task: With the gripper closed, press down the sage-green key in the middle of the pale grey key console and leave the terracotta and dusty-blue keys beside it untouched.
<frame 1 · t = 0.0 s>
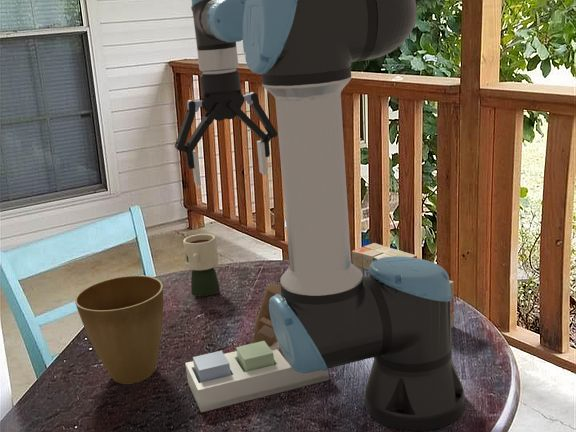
hand: (231, 178, 147), 28 cm above the table, tool pointing down, fingers open, 13 cm apart
plant pot: (132, 375, 131), on the table
stack of blocks: (402, 317, 145), on the table
character mug: (206, 294, 164), on the table
terracotta key: (297, 349, 126), point 4 cm above the table, slide at 0.0 cm
sage key: (255, 359, 124), point 4 cm above the table, slide at 0.0 cm
key console: (257, 381, 125), on the table
blue key: (212, 369, 122), point 4 cm above the table, slide at 0.0 cm
wooden block set: (274, 344, 139), on the table
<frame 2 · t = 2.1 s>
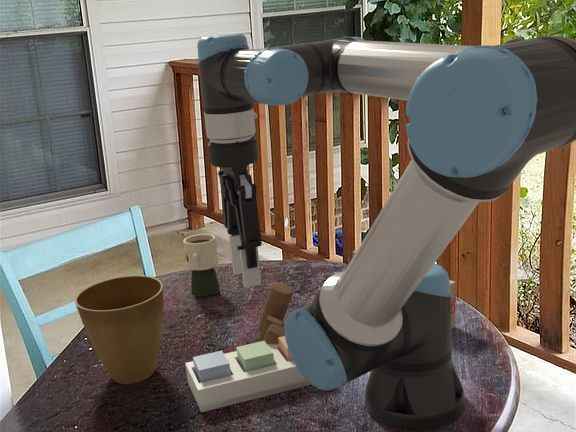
hand: (246, 278, 119), 19 cm above the table, tool pointing down, fingers open, 6 cm apart
wooden block set: (279, 342, 139), on the table
everything else where it was.
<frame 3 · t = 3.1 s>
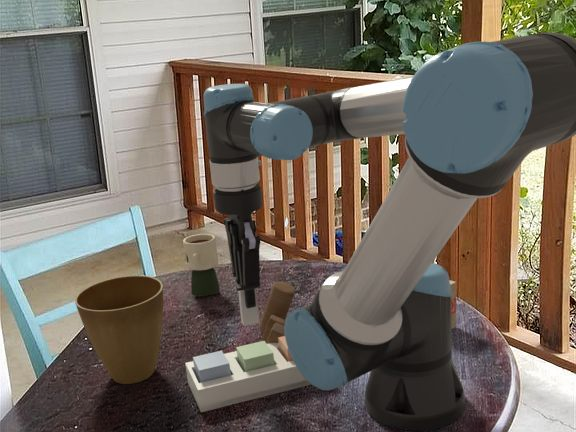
hand: (250, 322, 122), 11 cm above the table, tool pointing down, fingers closed
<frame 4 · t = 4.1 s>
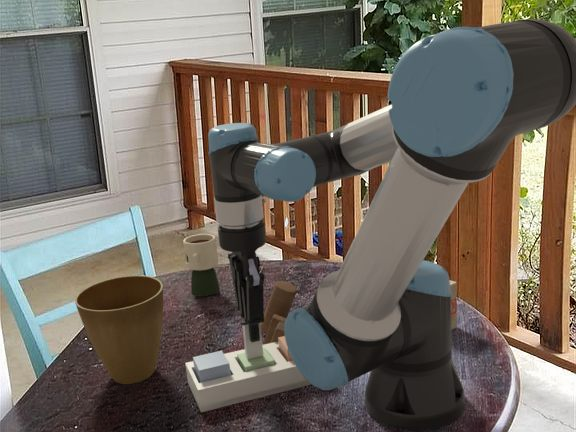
hand: (254, 355, 124), 5 cm above the table, tool pointing down, fingers closed
sage key: (256, 366, 124), point 3 cm above the table, slide at 1.4 cm, touching gripper
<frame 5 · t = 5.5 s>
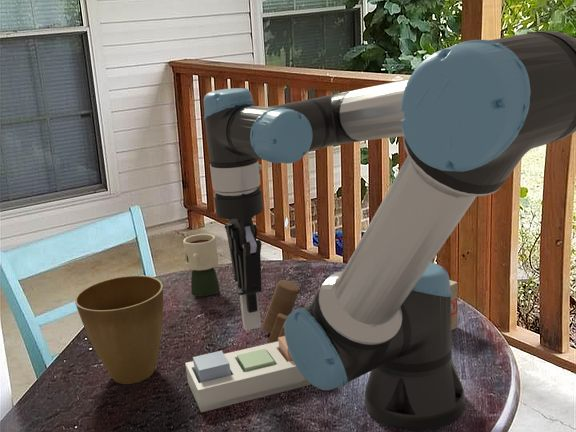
hand: (252, 326, 122), 10 cm above the table, tool pointing down, fingers closed
sage key: (256, 367, 124), point 3 cm above the table, slide at 1.5 cm, touching key console
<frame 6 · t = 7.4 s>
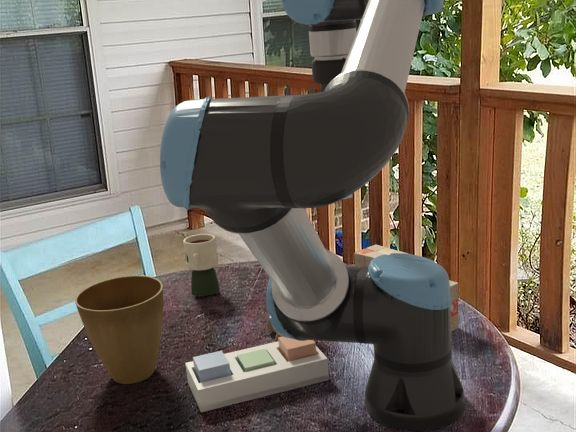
hand: (343, 197, 125), 28 cm above the table, tool pointing down, fingers closed
wooden block set: (291, 337, 141), on the table
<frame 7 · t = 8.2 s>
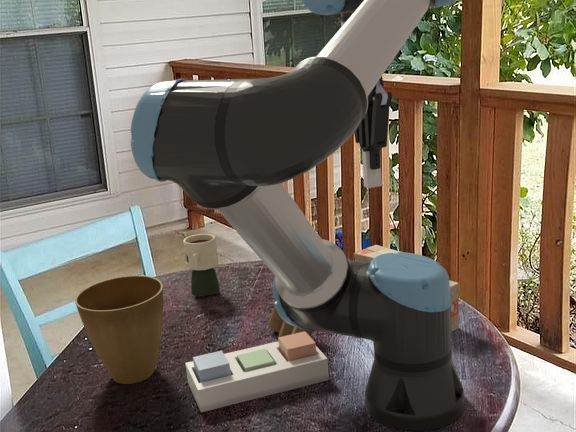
hand: (372, 186, 127), 29 cm above the table, tool pointing down, fingers closed
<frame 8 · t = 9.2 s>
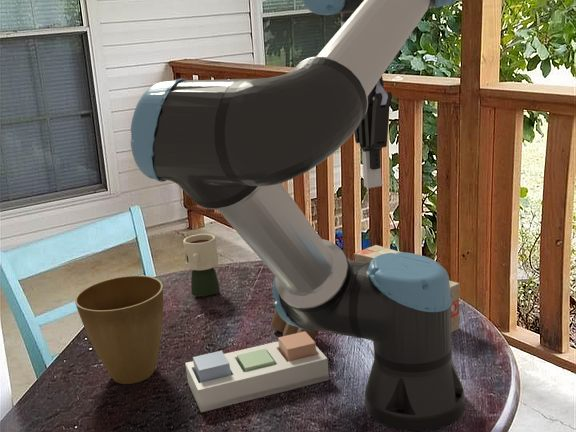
hand: (372, 186, 127), 29 cm above the table, tool pointing down, fingers closed
at the end: sage key slide at 1.5 cm; terracotta key slide at 0.0 cm; blue key slide at 0.0 cm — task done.
